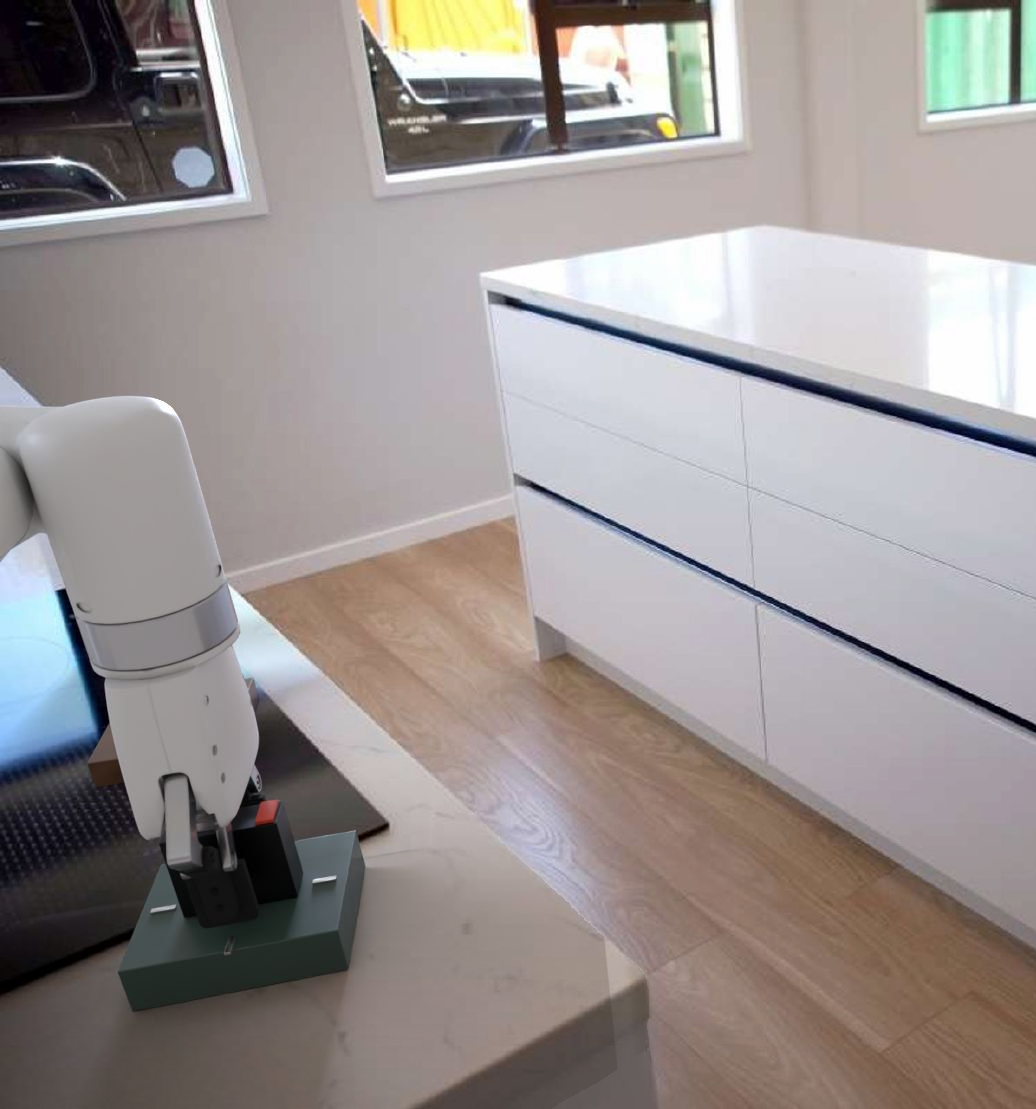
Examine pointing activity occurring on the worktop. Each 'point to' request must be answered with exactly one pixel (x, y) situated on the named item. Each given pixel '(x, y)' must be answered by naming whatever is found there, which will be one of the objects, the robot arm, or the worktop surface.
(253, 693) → the brown block
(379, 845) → the worktop surface
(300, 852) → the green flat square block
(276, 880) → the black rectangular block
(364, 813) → the worktop surface
